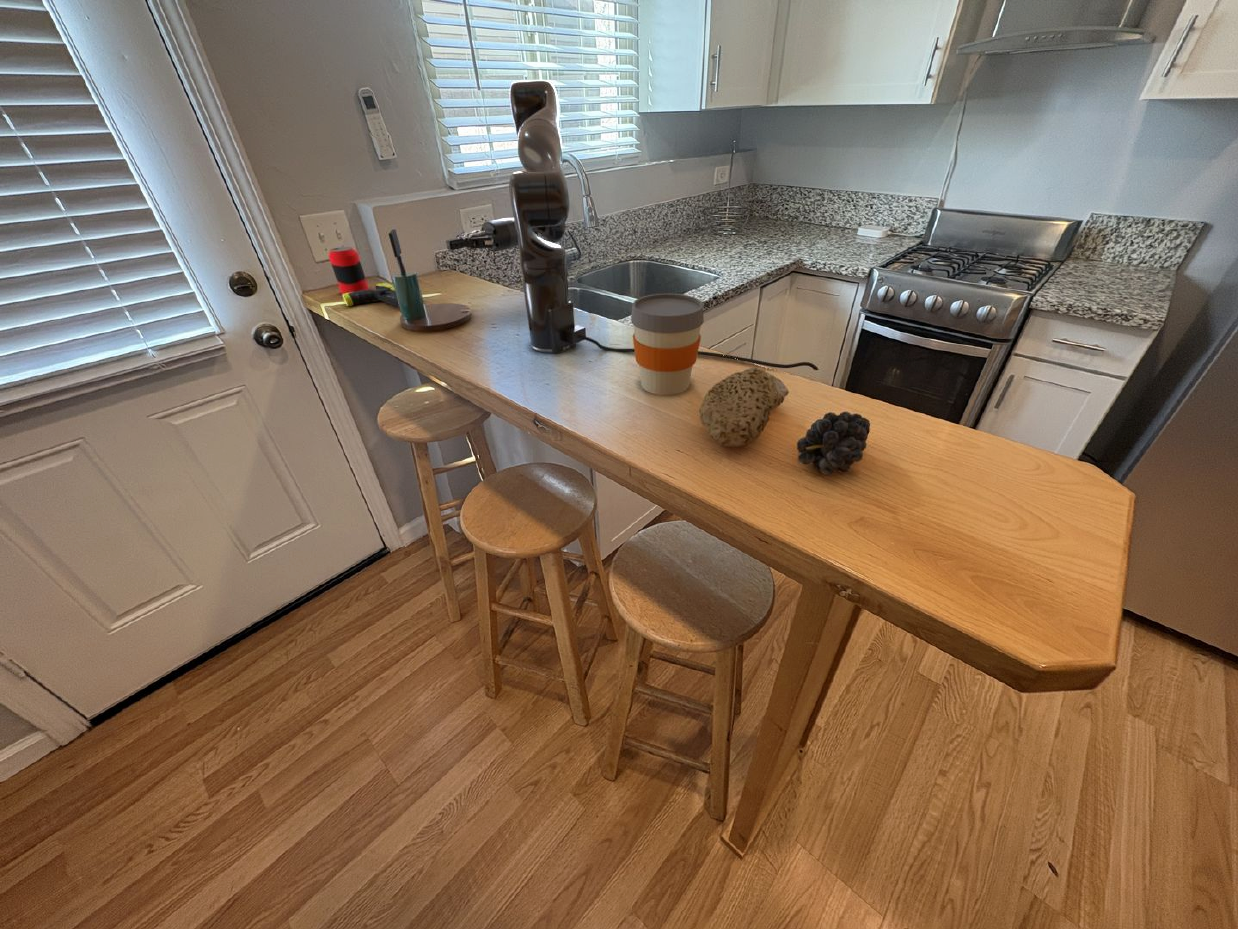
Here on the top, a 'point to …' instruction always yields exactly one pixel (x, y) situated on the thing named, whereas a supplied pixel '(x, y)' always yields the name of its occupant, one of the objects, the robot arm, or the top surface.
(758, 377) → the sponge
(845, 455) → the fruit
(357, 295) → the stun gun
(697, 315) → the reusable coffee cup
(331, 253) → the soda can
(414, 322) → the teal post stand
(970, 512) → the top surface
